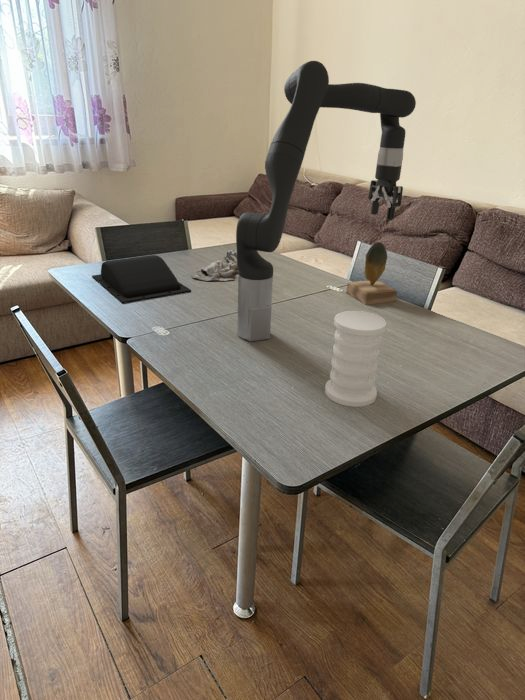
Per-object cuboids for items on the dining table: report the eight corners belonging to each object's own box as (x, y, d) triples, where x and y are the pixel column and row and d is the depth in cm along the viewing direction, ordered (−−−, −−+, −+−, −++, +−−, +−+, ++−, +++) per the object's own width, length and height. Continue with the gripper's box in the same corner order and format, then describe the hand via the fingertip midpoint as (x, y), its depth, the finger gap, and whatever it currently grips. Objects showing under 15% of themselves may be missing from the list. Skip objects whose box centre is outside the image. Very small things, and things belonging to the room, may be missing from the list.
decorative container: (374, 410, 110) (386, 334, 102) (320, 401, 112) (329, 326, 105) (377, 385, 120) (389, 314, 112) (329, 377, 123) (337, 307, 115)
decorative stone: (373, 280, 179) (379, 238, 172) (387, 285, 175) (394, 242, 168) (355, 285, 173) (360, 242, 166) (369, 291, 169) (375, 246, 162)
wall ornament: (275, 251, 193) (207, 252, 175) (274, 278, 196) (207, 282, 178) (246, 247, 207) (180, 248, 190) (245, 272, 210) (180, 276, 192)
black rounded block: (92, 278, 183) (122, 305, 161) (89, 255, 179) (120, 279, 157) (155, 269, 195) (191, 293, 173) (153, 247, 191) (190, 269, 169)
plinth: (395, 301, 173) (397, 289, 171) (365, 304, 168) (366, 293, 167) (375, 289, 183) (376, 278, 181) (346, 292, 178) (347, 281, 177)
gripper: (366, 160, 161) (359, 213, 168) (393, 166, 150) (384, 222, 157) (386, 160, 164) (378, 212, 171) (413, 166, 152) (405, 221, 159)
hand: (381, 217), depth 164 cm, fingers open, 8 cm apart
